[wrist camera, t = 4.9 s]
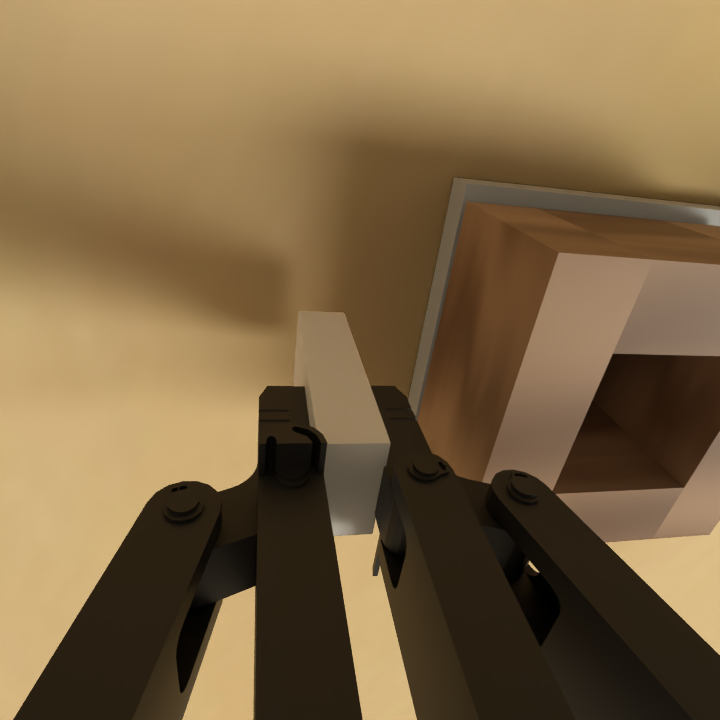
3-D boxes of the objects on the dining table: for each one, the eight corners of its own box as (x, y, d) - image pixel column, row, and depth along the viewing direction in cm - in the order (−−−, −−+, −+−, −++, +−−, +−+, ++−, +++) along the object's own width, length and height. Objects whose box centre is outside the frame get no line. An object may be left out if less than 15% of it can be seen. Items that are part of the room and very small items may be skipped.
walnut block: (467, 201, 15) (558, 252, 10) (719, 226, 17) (890, 277, 12) (412, 443, 20) (458, 553, 15) (614, 439, 22) (709, 534, 17)
